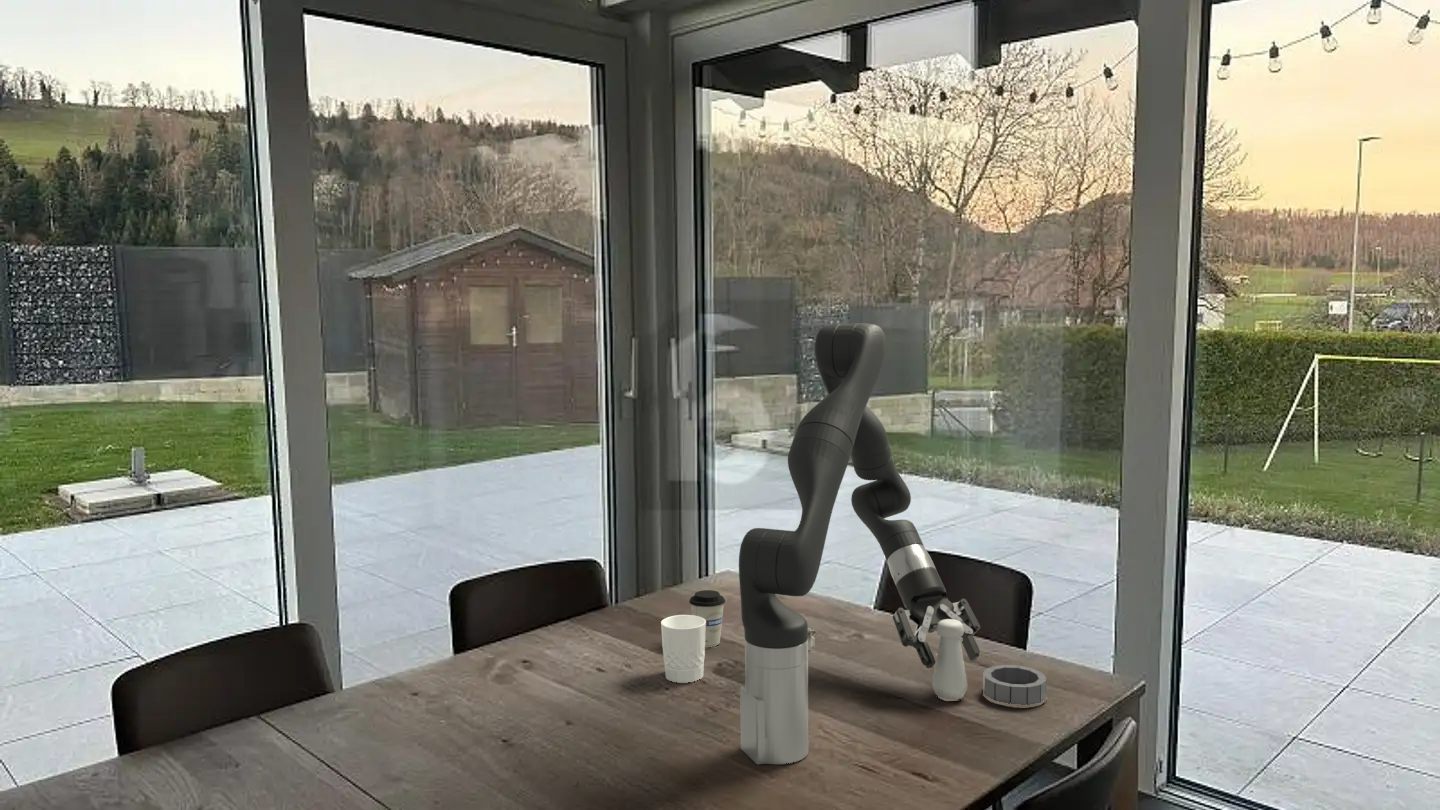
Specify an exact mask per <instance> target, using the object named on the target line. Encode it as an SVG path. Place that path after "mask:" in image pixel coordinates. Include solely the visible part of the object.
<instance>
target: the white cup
mask: <svg viewBox="0 0 1440 810" xmlns="http://www.w3.org/2000/svg"><path fill="white" fill-rule="evenodd" d="M660 626H661V627H660V628H661V640H662V641H661V645H662V655H663V664H664V673H665V678H666V680H668V682H669V681H670V682H671V681H672V682H673V683H676V682H677V684H689V683H688V682H691V683H695V682H698V681H700V680H701V679H702V678H703V677H704V672H705V671H704V664H705V663H704V662H705V657H706V656H705V655H706V653H705V652H706V648H705V633H706V620H705V619H704V618H702V617H699V616H694V615H692V614H677V615H676V614H675V615H672V616H668V617H665V618H664V619H662V620H661V621H660ZM699 679H700V680H699ZM697 680H698V681H697ZM694 681H695V682H694ZM672 682H671V683H672Z"/></svg>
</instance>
